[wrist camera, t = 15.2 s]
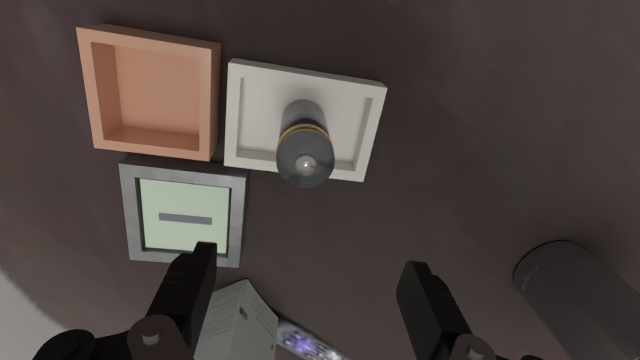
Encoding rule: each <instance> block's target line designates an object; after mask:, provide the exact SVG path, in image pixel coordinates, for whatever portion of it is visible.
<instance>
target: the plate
mask: <svg viewBox="0 0 640 360" xmlns="http://www.w3.org/2000/svg"><path fill="white" fill-rule="evenodd" d="M140 187H141V199H142V210H143V221H144V233H145V244H146V247H151V248H164V249H176V250H188V251H194V248H195V246H196V243H197V242H198V241H204V242H215V243H217V253H225V254H226V251H227V247H228V239H229V221H230V202H231V188H230V187H220V186H211V185H202V184H193V183H184V182H175V181H165V180H156V179H147V178H140Z"/></svg>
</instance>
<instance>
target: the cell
mask: <svg viewBox="0 0 640 360" xmlns="http://www.w3.org/2000/svg"><path fill="white" fill-rule="evenodd" d="M276 166H277V169H278V172H279V174H280V175H281V177H282V178H283V179H284V180H285V181H286V182H288V183H289V184H291V185H293V186H296V187H300V188H310V187H315V186H317V185H320V184H321V183H323V182H324V181H326V180H327V179H328V178H329V176H330V175H331V174H332V172H333V169H334V166H335V157H334V149H333V145H332V142H331V139H330V136H329V132H328V128H327V124H326V119H325V115H324V113H323V110H322V109H321V107H320V106H319V105H318V104H316V103H315V102H313V101H311V100H307V99H300V100H296V101H293V102H292V103H290V104H289V105H288V106H287V107H286V108H285V110H284V111H283V114H282V118H281V126H280V134H279V141H278V145H277V151H276Z"/></svg>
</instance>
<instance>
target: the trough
mask: <svg viewBox="0 0 640 360" xmlns="http://www.w3.org/2000/svg"><path fill="white" fill-rule="evenodd" d="M386 92H387V87H386V86H385V85H384V84H383V83H381V82H379V81H373V80H367V79H361V78H355V77H349V76H343V75H336V74H330V73H324V72H318V71H312V70H306V69H300V68H293V67H287V66H281V65H275V64H269V63H263V62H257V61H251V60H244V59H238V58H232V59H231V60H230V61H229V62H228V82H227V106H226V130H225V154H224V166H231V167H239V168H248V169H256V170H265V171H273V172H278V169H277V166H276V151H277V145H278V141H279V134H280V126H281V118H282V114H283V111H284V110H285V108H286V107H287V106H288V105H289V104H290V103H292V102H293V101H296V100H300V99H307V100H311V101H313V102H315V103H316V104H318V105H319V106H320V107H321V109H322V110H323V113H324V115H325V119H326V124H327V128H328V132H329V136H330V139H331V142H332V145H333V149H334V157H335V166H334V169H333V172H332V174H331V175H330V176H329V178H333V179H341V180H350V181H358V182H363V181H364V177H365V173H366V169H367V165H368V161H369V158H370V154H371V150H372V146H373V142H374V138H375V134H376V131H377V127H378V123H379V119H380V115H381V111H382V107H383V104H384V100H385V96H386Z"/></svg>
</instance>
